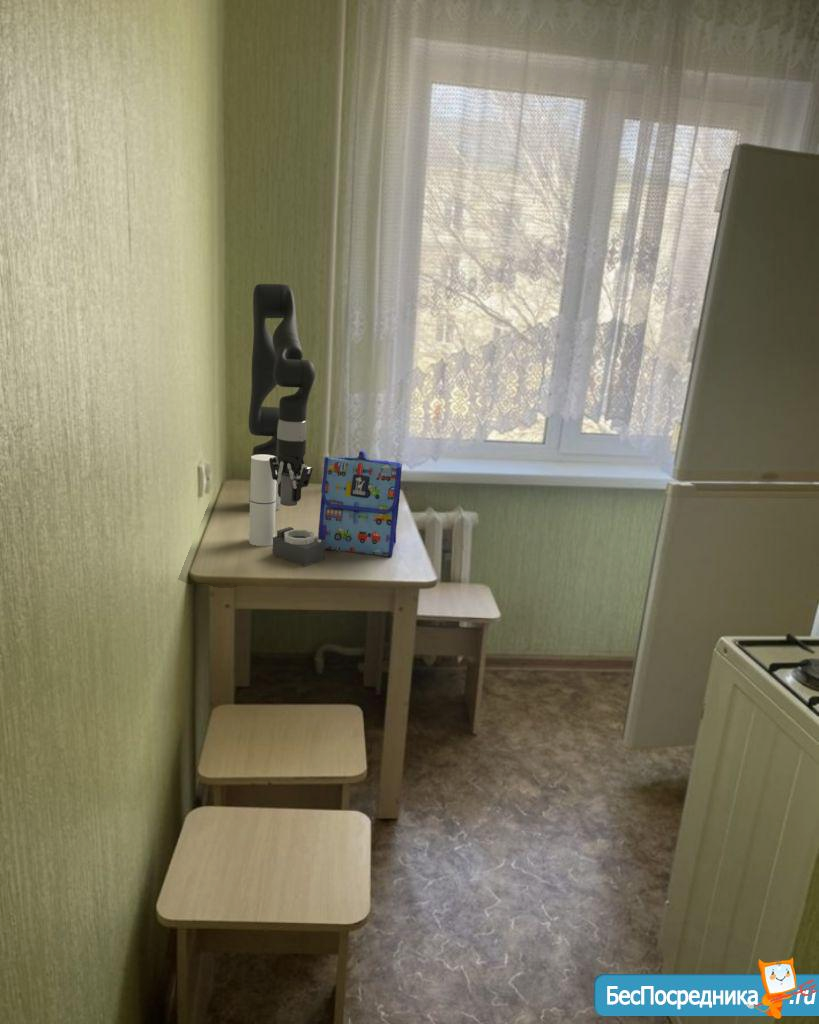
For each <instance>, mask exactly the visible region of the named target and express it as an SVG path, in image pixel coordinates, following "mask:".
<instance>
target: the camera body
mask: <svg viewBox="0 0 819 1024" xmlns="http://www.w3.org/2000/svg"><path fill="white" fill-rule="evenodd" d="M271 553H272V554H271V555H273V556H275V557H278V558H282V559H284V560H286V561H290V562H292V563H295V564H298V565H301V566H303V567H306V566H309V565H312V564H315V563H317V562H319V561H323V560H325V557H326V556H325V554H326V549H325V542H324V541H321V540H320V539H318V538H315V533H314V532H313V531H309V530H307V529H294V527H291V526H288V527H285V528H282V529H278V530H277V531H276V536H275V537H273V544H272V551H271Z"/></svg>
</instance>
